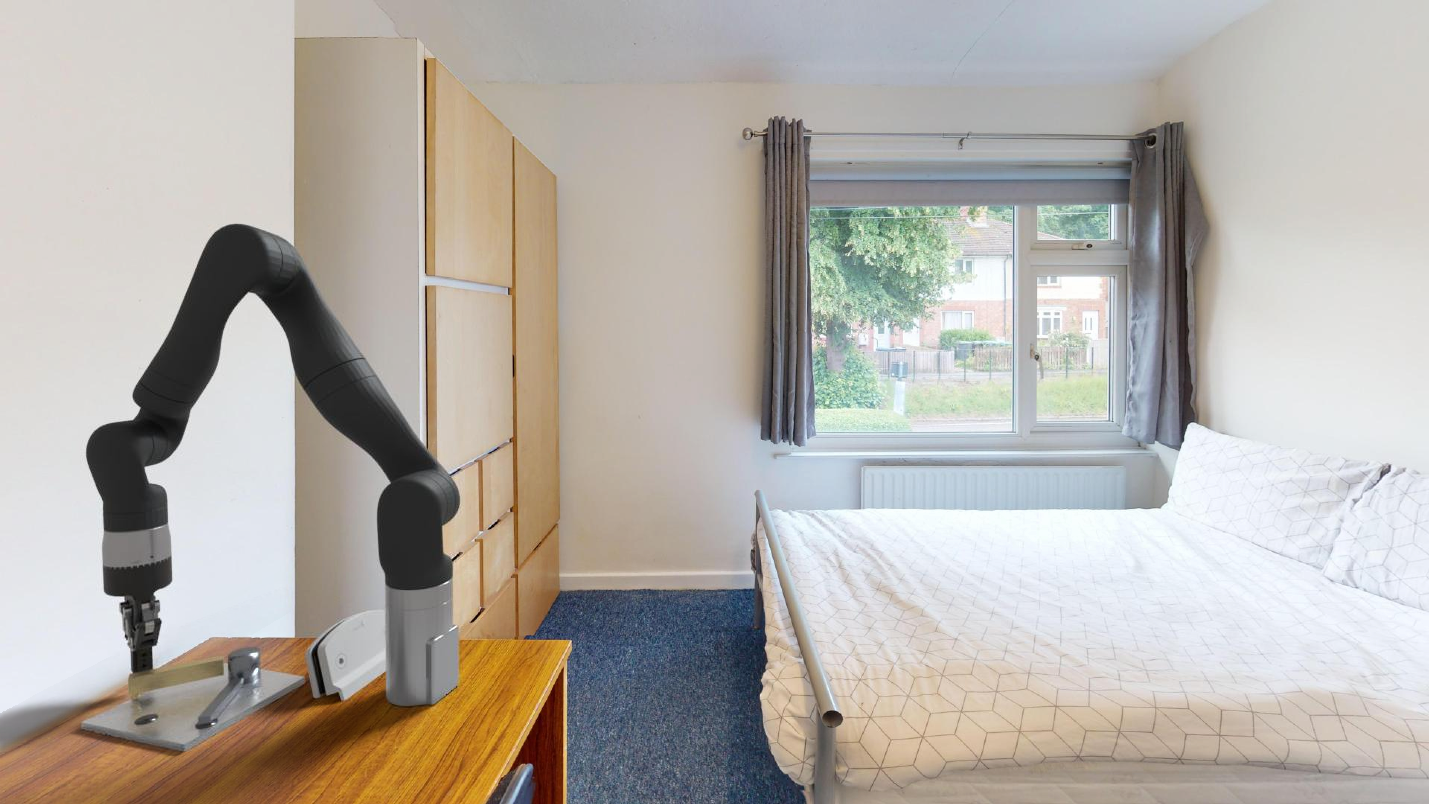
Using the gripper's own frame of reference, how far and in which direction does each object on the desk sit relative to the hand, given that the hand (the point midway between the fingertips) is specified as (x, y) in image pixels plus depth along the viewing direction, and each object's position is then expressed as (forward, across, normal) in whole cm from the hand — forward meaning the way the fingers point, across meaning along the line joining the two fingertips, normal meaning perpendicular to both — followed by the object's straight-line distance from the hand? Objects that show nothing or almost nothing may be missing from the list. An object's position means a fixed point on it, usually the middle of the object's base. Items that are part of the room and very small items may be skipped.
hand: (142, 671), depth 96 cm
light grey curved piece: (+3, -17, -23) cm, 29 cm away
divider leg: (+2, -7, -3) cm, 7 cm away
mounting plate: (+3, -10, -4) cm, 12 cm away
